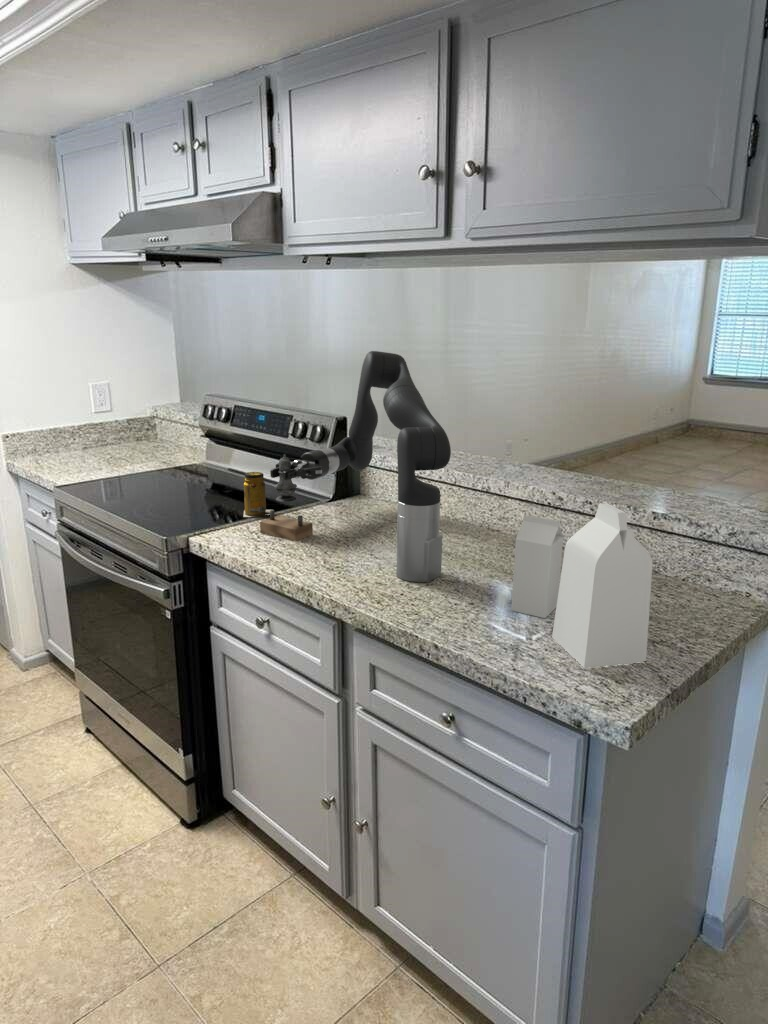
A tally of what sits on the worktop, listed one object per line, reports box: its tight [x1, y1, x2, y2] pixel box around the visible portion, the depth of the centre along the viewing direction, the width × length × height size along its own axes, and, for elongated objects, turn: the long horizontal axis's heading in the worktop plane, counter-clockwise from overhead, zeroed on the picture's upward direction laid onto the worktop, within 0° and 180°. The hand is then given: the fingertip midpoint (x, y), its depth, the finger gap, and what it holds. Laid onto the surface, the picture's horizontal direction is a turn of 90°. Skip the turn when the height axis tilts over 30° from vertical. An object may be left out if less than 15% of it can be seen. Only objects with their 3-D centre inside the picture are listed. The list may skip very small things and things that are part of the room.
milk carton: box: [510, 514, 564, 619], centre depth 141 cm, size 7×7×19 cm
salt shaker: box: [273, 453, 298, 503], centre depth 186 cm, size 6×6×12 cm
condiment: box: [243, 471, 271, 518], centre depth 206 cm, size 7×8×12 cm
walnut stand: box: [259, 509, 313, 542], centre depth 189 cm, size 12×7×6 cm, turn 57°
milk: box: [551, 502, 653, 668], centre depth 123 cm, size 12×12×26 cm
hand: (278, 474), depth 183 cm, fingers closed on salt shaker, 3 cm apart
